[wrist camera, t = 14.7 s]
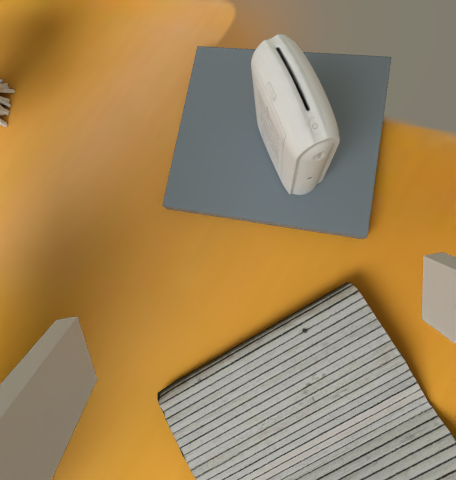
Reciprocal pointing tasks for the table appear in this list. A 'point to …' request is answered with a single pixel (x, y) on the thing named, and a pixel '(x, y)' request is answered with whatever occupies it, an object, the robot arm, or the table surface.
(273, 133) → the photo printer
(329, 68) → the slate board
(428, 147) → the table surface
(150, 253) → the table surface
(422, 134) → the table surface
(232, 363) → the mat
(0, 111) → the tree
